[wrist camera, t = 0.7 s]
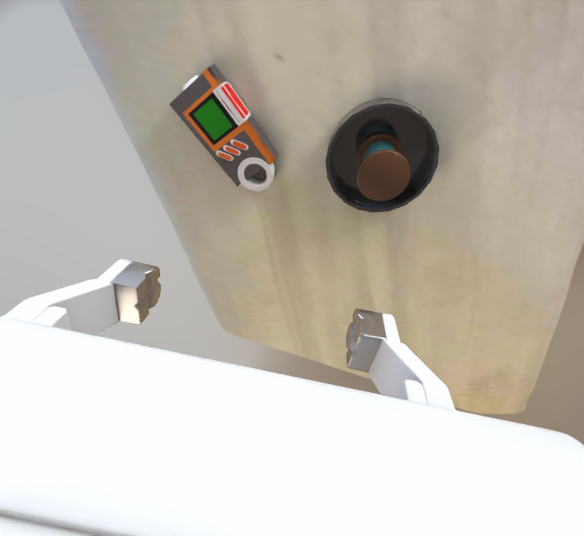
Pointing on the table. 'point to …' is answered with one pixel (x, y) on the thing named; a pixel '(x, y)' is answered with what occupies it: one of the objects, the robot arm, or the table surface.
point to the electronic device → (226, 128)
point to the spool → (381, 167)
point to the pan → (378, 119)
